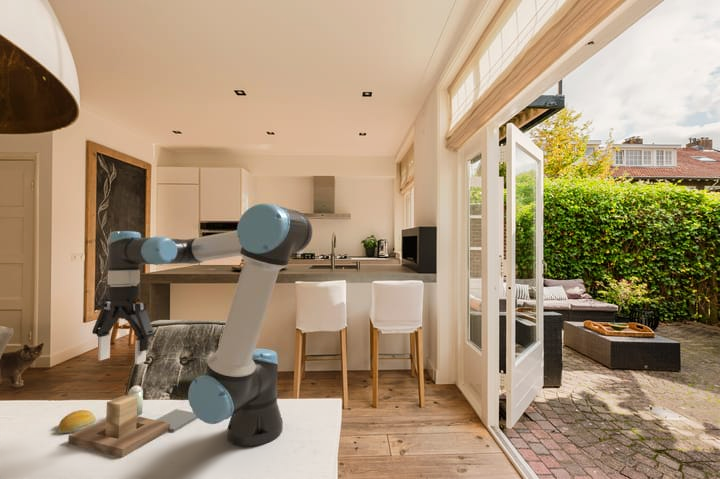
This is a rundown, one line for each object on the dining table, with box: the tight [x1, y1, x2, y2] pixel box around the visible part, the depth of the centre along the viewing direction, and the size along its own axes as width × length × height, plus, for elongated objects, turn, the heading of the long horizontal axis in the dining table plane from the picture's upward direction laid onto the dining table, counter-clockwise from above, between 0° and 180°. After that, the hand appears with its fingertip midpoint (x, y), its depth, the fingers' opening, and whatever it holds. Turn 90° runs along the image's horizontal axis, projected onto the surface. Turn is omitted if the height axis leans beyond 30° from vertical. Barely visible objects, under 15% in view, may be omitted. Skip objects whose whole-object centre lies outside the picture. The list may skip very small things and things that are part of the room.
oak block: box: [105, 394, 137, 439], centre depth 94 cm, size 5×5×10 cm
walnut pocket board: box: [67, 415, 170, 458], centre depth 94 cm, size 20×14×2 cm
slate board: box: [155, 408, 199, 433], centre depth 102 cm, size 10×10×1 cm
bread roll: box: [58, 409, 96, 434], centre depth 99 cm, size 8×9×4 cm
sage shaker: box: [127, 385, 144, 417], centre depth 107 cm, size 4×4×9 cm
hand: (121, 361), depth 95 cm, fingers open, 13 cm apart
